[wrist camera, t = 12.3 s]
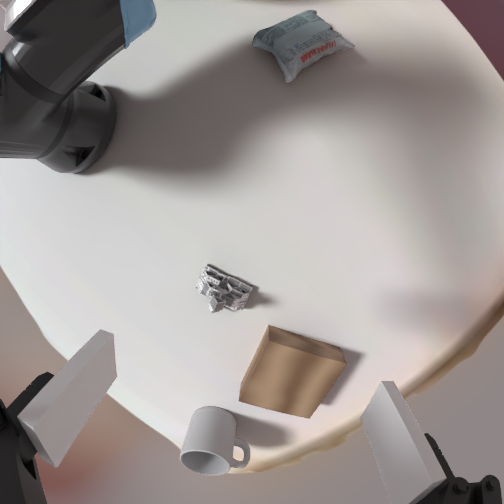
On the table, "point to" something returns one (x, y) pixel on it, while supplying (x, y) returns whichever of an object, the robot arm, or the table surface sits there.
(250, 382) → the brown boxy piece
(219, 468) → the mug
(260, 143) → the table surface
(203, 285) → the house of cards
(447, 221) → the table surface
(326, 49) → the packaged food
